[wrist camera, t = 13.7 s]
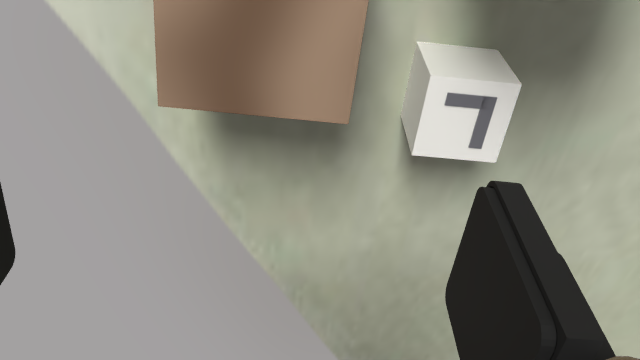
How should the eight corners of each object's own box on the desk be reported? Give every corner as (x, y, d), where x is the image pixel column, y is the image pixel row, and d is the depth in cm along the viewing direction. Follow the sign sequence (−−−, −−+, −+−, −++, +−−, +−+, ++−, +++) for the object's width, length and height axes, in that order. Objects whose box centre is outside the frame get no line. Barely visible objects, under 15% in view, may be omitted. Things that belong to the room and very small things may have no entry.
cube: (497, 49, 28) (522, 85, 25) (475, 121, 31) (496, 163, 27) (416, 40, 28) (430, 75, 25) (400, 114, 30) (411, 155, 27)
